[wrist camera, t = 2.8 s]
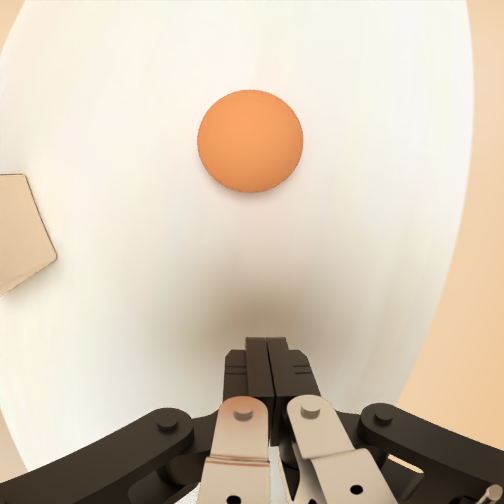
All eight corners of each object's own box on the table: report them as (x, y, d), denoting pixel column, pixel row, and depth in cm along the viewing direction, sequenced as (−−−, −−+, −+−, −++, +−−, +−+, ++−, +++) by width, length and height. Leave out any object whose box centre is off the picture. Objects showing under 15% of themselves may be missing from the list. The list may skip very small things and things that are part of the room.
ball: (300, 182, 19) (324, 182, 13) (213, 199, 19) (202, 205, 13) (283, 98, 18) (300, 68, 12) (196, 114, 18) (180, 88, 12)
